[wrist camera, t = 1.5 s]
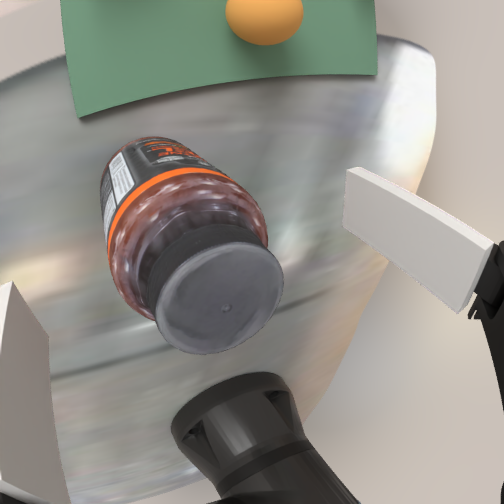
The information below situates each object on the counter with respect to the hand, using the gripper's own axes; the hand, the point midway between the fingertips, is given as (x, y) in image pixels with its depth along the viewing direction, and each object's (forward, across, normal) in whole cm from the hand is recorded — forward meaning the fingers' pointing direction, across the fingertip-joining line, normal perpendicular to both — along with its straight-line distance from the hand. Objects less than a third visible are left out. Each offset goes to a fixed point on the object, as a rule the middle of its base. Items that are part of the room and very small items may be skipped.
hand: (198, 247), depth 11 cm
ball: (+8, -7, -8) cm, 14 cm away
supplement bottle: (+9, 0, +1) cm, 9 cm away
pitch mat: (+9, -7, -15) cm, 19 cm away
